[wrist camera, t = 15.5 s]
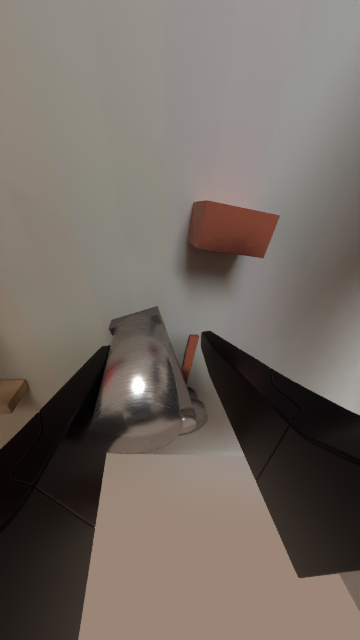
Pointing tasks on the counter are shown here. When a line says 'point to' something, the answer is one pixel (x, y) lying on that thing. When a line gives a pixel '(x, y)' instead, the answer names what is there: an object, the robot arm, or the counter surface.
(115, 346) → the crank
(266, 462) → the robot arm
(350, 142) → the counter surface
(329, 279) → the counter surface
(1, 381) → the bay
